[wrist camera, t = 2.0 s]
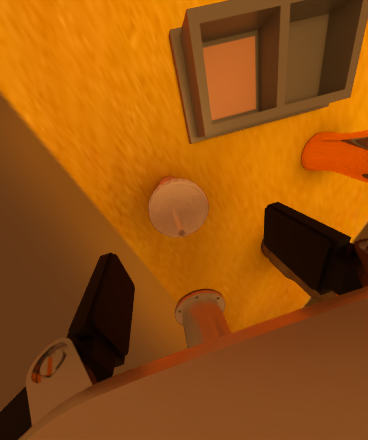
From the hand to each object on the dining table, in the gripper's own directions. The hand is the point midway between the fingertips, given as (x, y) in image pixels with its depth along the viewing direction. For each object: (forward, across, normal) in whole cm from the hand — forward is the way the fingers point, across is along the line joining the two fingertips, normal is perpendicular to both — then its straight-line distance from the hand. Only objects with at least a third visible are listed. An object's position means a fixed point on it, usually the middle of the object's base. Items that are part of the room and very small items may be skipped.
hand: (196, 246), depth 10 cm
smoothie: (+17, 0, +1) cm, 17 cm away
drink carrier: (+17, -15, -10) cm, 25 cm away
